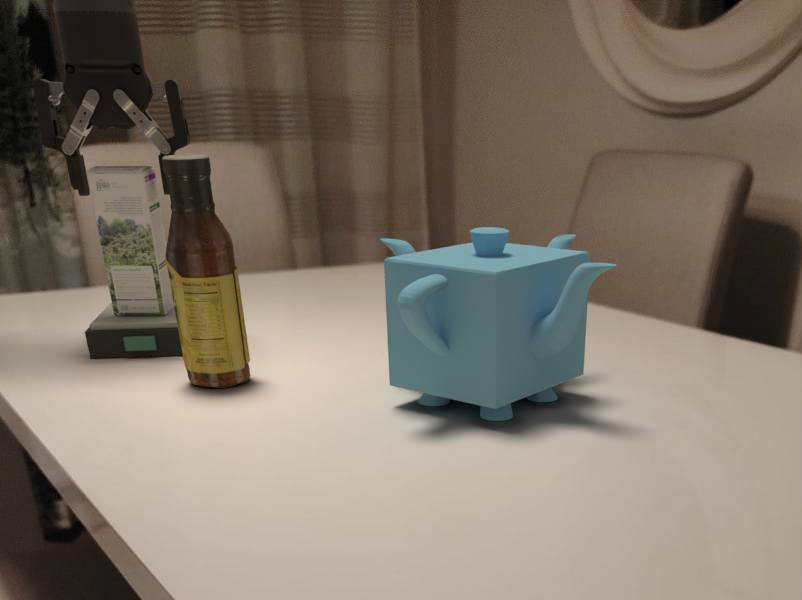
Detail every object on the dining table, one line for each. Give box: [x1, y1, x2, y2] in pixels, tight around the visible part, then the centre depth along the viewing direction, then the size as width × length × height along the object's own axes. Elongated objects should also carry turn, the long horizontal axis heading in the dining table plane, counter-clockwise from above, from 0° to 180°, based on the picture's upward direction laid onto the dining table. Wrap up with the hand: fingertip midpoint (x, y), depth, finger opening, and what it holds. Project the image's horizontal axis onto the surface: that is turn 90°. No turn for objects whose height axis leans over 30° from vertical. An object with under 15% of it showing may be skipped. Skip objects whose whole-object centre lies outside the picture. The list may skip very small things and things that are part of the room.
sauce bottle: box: [162, 153, 251, 389], centre depth 87 cm, size 6×6×20 cm
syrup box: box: [86, 165, 174, 316], centre depth 101 cm, size 6×6×14 cm
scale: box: [84, 302, 183, 359], centre depth 105 cm, size 11×14×3 cm
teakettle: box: [379, 226, 618, 422], centre depth 84 cm, size 19×19×15 cm
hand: (126, 194), depth 99 cm, fingers open, 8 cm apart
